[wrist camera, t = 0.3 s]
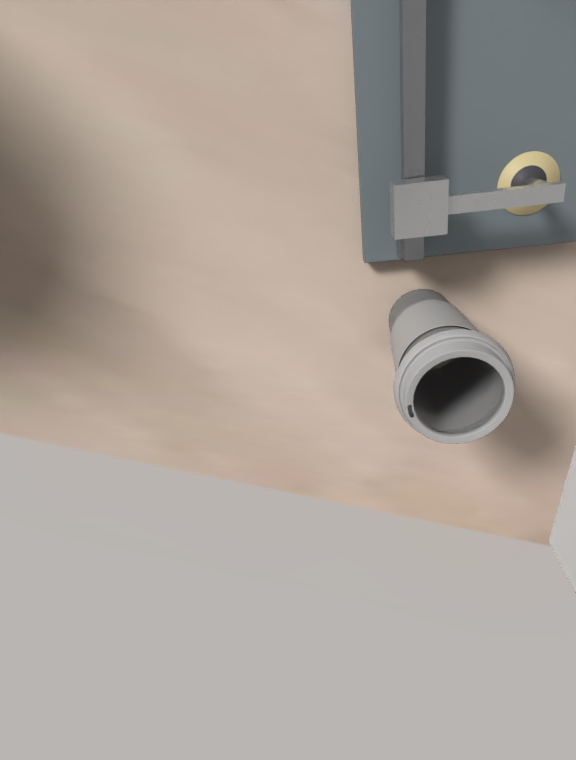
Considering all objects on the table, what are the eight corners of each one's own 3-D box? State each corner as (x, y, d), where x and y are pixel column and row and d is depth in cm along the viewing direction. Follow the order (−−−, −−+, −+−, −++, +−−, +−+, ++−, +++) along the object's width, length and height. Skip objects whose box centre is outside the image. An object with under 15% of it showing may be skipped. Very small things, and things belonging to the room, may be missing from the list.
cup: (364, 288, 37) (383, 359, 26) (456, 260, 36) (514, 323, 25) (387, 370, 40) (412, 463, 29) (472, 347, 39) (530, 436, 28)
